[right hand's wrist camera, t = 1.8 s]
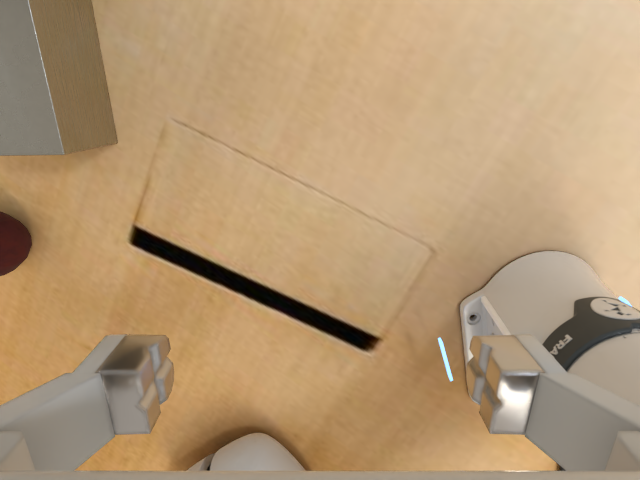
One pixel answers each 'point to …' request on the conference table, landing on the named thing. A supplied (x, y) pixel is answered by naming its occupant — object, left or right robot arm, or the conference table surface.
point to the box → (52, 79)
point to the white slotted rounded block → (250, 456)
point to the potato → (12, 243)
